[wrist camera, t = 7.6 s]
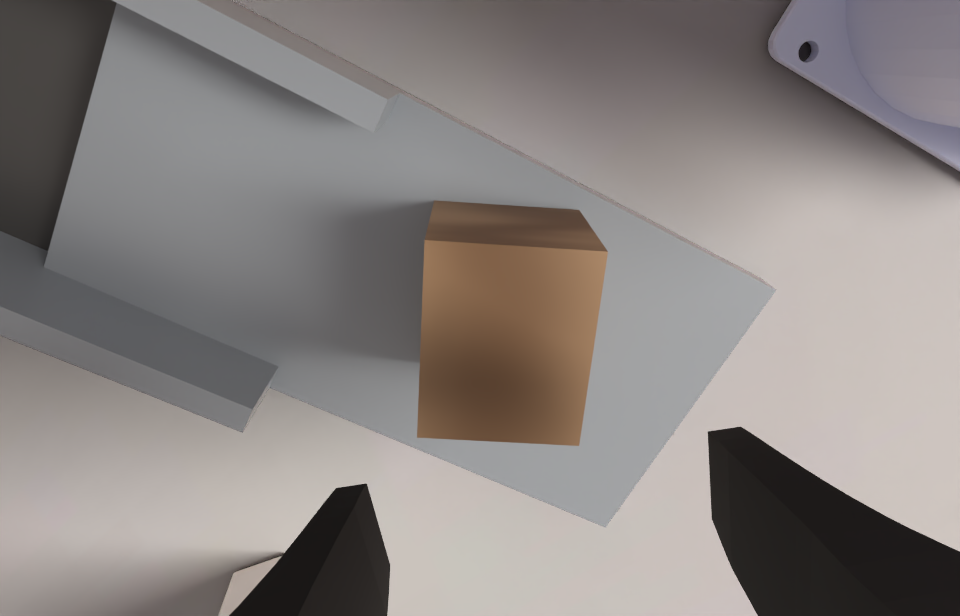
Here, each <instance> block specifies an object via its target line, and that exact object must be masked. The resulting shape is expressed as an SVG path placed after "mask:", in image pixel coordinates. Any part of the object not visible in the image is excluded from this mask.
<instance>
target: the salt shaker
mask: <svg viewBox="0 0 960 616" xmlns="http://www.w3.org/2000/svg"><path fill="white" fill-rule="evenodd" d="M281 557H282V556H280V557H277V558H274V559H271V560H268V561H265V562H262V563H259V564H257V565H254V566H251V567H248V568H245V569H242V570H239V571H237V572H234V573H233V576H232V578H231V581H230V584H229V587H228V589H227V592H226V595H225V598H224V601H223V603H222V606H221V609H220V612H219V615H218V616H229V615H230V614H231V613H232V612H233V611H234V610H235V609H236V608H237V607H238V606H239V605H240V603H241V602H242V601H243V600H244V599H245V598H246V597H247V596H248V594H249V593H250V592H251V591H252V590H253V589H254V588H255V587H256V585H257V584H258V583H259V582H260V581H261V580H262V579H263V578H264V576H265V575H266V574H267V573H268V572H269V571H270V570H271V569H272V568H273V566H274V565H275V564H276V563H277V562H278V560H279V559H280V558H281Z"/></svg>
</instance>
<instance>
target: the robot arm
mask: <svg viewBox="0 0 960 616" xmlns="http://www.w3.org/2000/svg"><path fill="white" fill-rule="evenodd" d="M804 42H808V43H809V44H810V45H811V54H810V56H809V58H808V59H807V60H805V61H803V62H802V61H801V60H800V58H799V55H798V51H799V49H800V46H801V45H802V44H803V43H804ZM768 50H769V53H770V56H771V57H772V58H773V59H774V60H775V61H777V62H779V63H780V64H782V65H784V66H785V67H787V68H789V69H790V70H792V71H794V72H795V73H797V74H799V75H800V76H802V77H804V78H805V79H807V80H809V81H810V82H812V83H814V84H815V85H817V86H819V87H820V88H822V89H824V90H825V91H827V92H829V93H830V94H832V95H834V96H835V97H837V98H838V99H840V100H842V101H843V102H845V103H847V104H848V105H850V106H852V107H853V108H855V109H857V110H858V111H860V112H862V113H863V114H865V115H867V116H868V117H870V118H872V119H873V120H875V121H877V122H878V123H880V124H882V125H883V126H885V127H887V128H888V129H890V130H892V131H893V132H895V133H897V134H898V135H900V136H902V137H903V138H905V139H907V140H908V141H910V142H912V143H913V144H915V145H917V146H918V147H920V148H921V149H923V150H925V151H926V152H928V153H930V154H931V155H933V156H935V157H936V158H938V159H940V160H941V161H943V162H945V163H946V164H948V165H950V166H951V167H953V168H955V169H956V170H958V171H960V0H792V1H791V3H790V4H789V6H788V7H787V9H786V11H785V12H784V14H783V15H782V17H781V19H780V20H779V22H778V23H777V25H776V27H775V28H774V30H773V32H772V33H771V36H770V38H769V40H768ZM708 444H709V465H710V487H711V509H712V520H713V523H714V525H715V528H716V530H717V533H718V535H719V538H720V540H721V543H722V545H723V548H724V550H725V553H726V555H727V557H728V560H729V562H730V565H731V567H732V569H733V571H734V573H735V575H736V577H737V578H738V580H739V582H740V584H741V586H742V588H743V589H744V591H745V593H746V595H747V597H748V598H749V600H750V602H751V604H752V606H753V608H754V609H755V611H756V613H757V615H758V616H960V552H959V551H957V550H955V549H952V548H950V547H948V546H946V545H944V544H942V543H940V542H937V541H935V540H933V539H931V538H929V537H927V536H925V535H923V534H920V533H918V532H916V531H914V530H912V529H910V528H908V527H906V526H904V525H902V524H900V523H898V522H896V521H894V520H892V519H890V518H888V517H886V516H884V515H883V514H881V513H879V512H877V511H875V510H874V509H872V508H870V507H868V506H866V505H864V504H863V503H861V502H859V501H857V500H855V499H854V498H852V497H850V496H848V495H847V494H845V493H843V492H842V491H840V490H838V489H837V488H835V487H833V486H832V485H830V484H828V483H827V482H825V481H823V480H822V479H820V478H819V477H817V476H815V475H814V474H812V473H811V472H809V471H807V470H806V469H804V468H803V467H801V466H800V465H798V464H797V463H795V462H794V461H792V460H790V459H789V458H787V457H786V456H784V455H783V454H781V453H780V452H778V451H777V450H775V449H774V448H772V447H771V446H769V445H768V444H766V443H765V442H763V441H762V440H760V439H759V438H757V437H756V436H754V435H753V434H751V433H750V432H748V431H747V430H745V429H743V428H742V427H736V428H729V429H723V430H716V431H709V432H708ZM389 578H390V563H389V560H388V556H387V553H386V549H385V546H384V542H383V539H382V535H381V532H380V528H379V525H378V521H377V518H376V514H375V511H374V508H373V504H372V501H371V497H370V494H369V490H368V487H367V484H361V485H354V486H348V487H341V488H336V489H335V490H334V491H333V493H332V494H331V495H330V496H329V498H328V499H327V500H326V501H325V503H324V504H323V505H322V506H321V508H320V509H319V510H318V512H317V513H316V514H315V515H314V517H313V518H312V519H311V521H310V522H309V523H308V524H307V526H306V527H305V528H304V529H303V531H302V532H301V533H300V535H299V536H298V537H297V538H296V540H295V541H294V542H293V543H292V544H291V546H290V547H289V548H288V549H287V551H286V552H285V553H284V554H283V556H282V557H281V558H280V559H279V560H278V562H277V563H276V564H275V565H274V566H273V568H272V569H271V570H270V571H269V572H268V573H267V574H266V575H265V576H264V578H263V579H262V580H261V581H260V582H259V583H258V584H257V585H256V587H255V588H254V589H253V590H252V591H251V592H250V593H249V594H248V596H247V597H246V598H245V599H244V600H243V601H242V602H241V603H240V605H239V606H238V607H237V608H236V609H235V610H234V611H233V612H232V613H231V614H230V615H229V616H387V611H388V596H389Z"/></svg>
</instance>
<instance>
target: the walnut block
mask: <svg viewBox="0 0 960 616" xmlns="http://www.w3.org/2000/svg"><path fill="white" fill-rule="evenodd" d="M607 255H608V251H607V249H606V248H605V247H604V245H603V244H602V242H601V241H600V239H599V238H598V236H597V235H596V233H595V232H594V231H593V229H592V228H591V226H590V225H589V223H588V222H587V220H586V219H585V218H584V216H583V215H582V213H581V212H580V210H574V209H558V208H543V207H528V206H513V205H497V204H482V203H467V202H452V201H436V200H434V203H433V208H432V212H431V216H430V220H429V224H428V228H427V232H426V236H425V242H424V268H423V293H422V319H421V345H420V371H419V397H418V422H417V438H432V439H451V440H471V441H490V442H510V443H529V444H549V445H568V446H579V444H580V437H581V430H582V424H583V417H584V410H585V404H586V397H587V390H588V383H589V377H590V370H591V363H592V356H593V350H594V343H595V336H596V329H597V323H598V316H599V309H600V303H601V296H602V289H603V282H604V276H605V269H606V262H607Z"/></svg>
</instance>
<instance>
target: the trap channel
mask: <svg viewBox="0 0 960 616" xmlns="http://www.w3.org/2000/svg"><path fill="white" fill-rule="evenodd" d="M434 200H436V201H452V202H467V203H482V204H497V205H513V206H528V207H543V208H558V209H574V210H580V212H581V213H582V215H583V216H584V218H585V219H586V220H587V222H588V223H589V225H590V226H591V228H592V229H593V231H594V232H595V233H596V235H597V236H598V238H599V239H600V241H601V242H602V244H603V245H604V247H605V248H606V249H607V251H608V255H607V262H606V269H605V276H604V282H603V289H602V296H601V303H600V309H599V316H598V323H597V329H596V336H595V343H594V350H593V356H592V363H591V370H590V377H589V383H588V390H587V397H586V404H585V410H584V417H583V424H582V430H581V437H580V444H579V446H568V445H549V444H529V443H510V442H490V441H471V440H451V439H432V438H417V422H418V397H419V371H420V345H421V319H422V293H423V268H424V242H425V236H426V232H427V228H428V224H429V220H430V216H431V212H432V208H433V203H434ZM775 291H776V289H774V288H773V287H772V286H770V285H769V284H768V283H767V282H765V281H764V280H763V279H761V278H759V277H757V276H755V275H754V274H752V273H750V272H748V271H746V270H744V269H742V268H740V267H738V266H736V265H735V264H733V263H731V262H729V261H727V260H725V259H723V258H721V257H719V256H717V255H715V254H714V253H712V252H710V251H708V250H706V249H704V248H702V247H700V246H698V245H696V244H694V243H693V242H691V241H689V240H687V239H685V238H683V237H681V236H679V235H677V234H675V233H674V232H672V231H670V230H668V229H666V228H664V227H662V226H660V225H658V224H656V223H654V222H653V221H651V220H649V219H647V218H645V217H643V216H641V215H639V214H637V213H635V212H633V211H632V210H630V209H628V208H626V207H624V206H622V205H620V204H618V203H616V202H614V201H612V200H611V199H609V198H607V197H605V196H603V195H601V194H599V193H597V192H595V191H593V190H592V189H590V188H588V187H586V186H584V185H582V184H580V183H578V182H576V181H574V180H572V179H571V178H569V177H567V176H565V175H563V174H561V173H559V172H557V171H555V170H553V169H551V168H550V167H548V166H546V165H544V164H542V163H540V162H538V161H536V160H534V159H532V158H531V157H529V156H527V155H525V154H523V153H521V152H519V151H517V150H515V149H513V148H511V147H510V146H508V145H506V144H504V143H502V142H500V141H498V140H496V139H494V138H492V137H490V136H489V135H487V134H485V133H483V132H481V131H479V130H477V129H475V128H473V127H471V126H470V125H468V124H466V123H464V122H462V121H460V120H458V119H456V118H454V117H452V116H450V115H449V114H447V113H445V112H443V111H441V110H439V109H437V108H435V107H433V106H431V105H429V104H428V103H426V102H424V101H422V100H420V99H418V98H416V97H414V96H412V95H410V94H408V93H407V92H405V91H403V90H401V89H399V88H397V87H395V86H393V85H391V84H389V83H388V82H386V81H384V80H382V79H380V78H378V77H376V76H374V75H372V74H370V73H368V72H367V71H365V70H363V69H361V68H359V67H357V66H355V65H353V64H351V63H349V62H347V61H346V60H344V59H342V58H340V57H338V56H336V55H334V54H332V53H330V52H328V51H327V50H325V49H323V48H321V47H319V46H317V45H315V44H313V43H311V42H309V41H307V40H306V39H304V38H302V37H300V36H298V35H296V34H294V33H292V32H290V31H288V30H286V29H285V28H283V27H281V26H279V25H277V24H275V23H273V22H271V21H269V20H267V19H266V18H264V17H262V16H260V15H258V14H256V13H254V12H252V11H250V10H248V9H246V8H245V7H243V6H241V5H239V4H237V3H235V2H233V1H231V0H0V336H3V337H5V338H8V339H10V340H13V341H15V342H18V343H20V344H22V345H25V346H27V347H30V348H32V349H35V350H37V351H40V352H42V353H45V354H47V355H50V356H52V357H55V358H57V359H60V360H62V361H65V362H67V363H70V364H72V365H75V366H77V367H80V368H82V369H85V370H87V371H90V372H92V373H95V374H97V375H100V376H102V377H105V378H107V379H110V380H112V381H115V382H117V383H120V384H122V385H125V386H127V387H130V388H132V389H135V390H137V391H140V392H142V393H145V394H147V395H150V396H152V397H155V398H157V399H160V400H162V401H165V402H167V403H170V404H172V405H175V406H177V407H180V408H182V409H185V410H187V411H190V412H192V413H195V414H197V415H200V416H202V417H205V418H207V419H210V420H212V421H215V422H217V423H220V424H222V425H225V426H227V427H230V428H232V429H235V430H237V431H240V432H242V433H243V431H244V429H245V428H246V426H247V424H248V423H249V421H250V419H251V418H252V416H253V414H254V413H255V411H256V409H257V408H258V406H259V404H260V403H261V401H262V399H263V398H264V396H265V394H266V393H267V391H268V389H269V388H272V389H274V390H276V391H279V392H281V393H284V394H286V395H288V396H291V397H293V398H296V399H298V400H300V401H303V402H305V403H308V404H310V405H312V406H315V407H317V408H320V409H322V410H324V411H327V412H329V413H332V414H334V415H336V416H339V417H341V418H344V419H346V420H348V421H351V422H353V423H356V424H358V425H360V426H363V427H365V428H368V429H370V430H372V431H375V432H377V433H380V434H382V435H384V436H387V437H389V438H392V439H394V440H396V441H399V442H401V443H404V444H406V445H408V446H411V447H413V448H416V449H418V450H420V451H423V452H425V453H428V454H430V455H432V456H435V457H437V458H440V459H442V460H444V461H447V462H449V463H452V464H454V465H456V466H459V467H461V468H464V469H466V470H468V471H471V472H473V473H476V474H478V475H480V476H483V477H485V478H488V479H490V480H492V481H495V482H497V483H500V484H502V485H504V486H507V487H509V488H512V489H514V490H516V491H519V492H521V493H524V494H526V495H528V496H531V497H533V498H536V499H538V500H540V501H543V502H545V503H548V504H550V505H552V506H555V507H557V508H560V509H562V510H564V511H567V512H569V513H572V514H574V515H576V516H579V517H581V518H584V519H586V520H588V521H591V522H593V523H596V524H598V525H600V526H603V527H606V526H607V525H608V523H609V522H610V521H611V519H612V518H613V516H614V515H615V514H616V512H617V511H618V509H619V508H620V507H621V505H622V504H623V502H624V501H625V500H626V498H627V497H628V496H629V494H630V493H631V491H632V490H633V489H634V487H635V486H636V484H637V483H638V482H639V480H640V479H641V477H642V476H643V475H644V473H645V472H646V470H647V469H648V468H649V466H650V465H651V464H652V462H653V461H654V459H655V458H656V457H657V455H658V454H659V452H660V451H661V450H662V448H663V447H664V445H665V444H666V443H667V441H668V440H669V439H670V437H671V436H672V434H673V433H674V432H675V430H676V429H677V427H678V426H679V425H680V423H681V422H682V420H683V419H684V418H685V416H686V415H687V413H688V412H689V411H690V409H691V408H692V407H693V405H694V404H695V402H696V401H697V400H698V398H699V397H700V395H701V394H702V393H703V391H704V390H705V388H706V387H707V386H708V384H709V383H710V382H711V380H712V379H713V377H714V376H715V375H716V373H717V372H718V370H719V369H720V368H721V366H722V365H723V363H724V362H725V361H726V359H727V358H728V356H729V355H730V354H731V352H732V351H733V350H734V348H735V347H736V345H737V344H738V343H739V341H740V340H741V338H742V337H743V336H744V334H745V333H746V331H747V330H748V329H749V327H750V326H751V325H752V323H753V322H754V320H755V319H756V318H757V316H758V315H759V313H760V312H761V311H762V309H763V308H764V306H765V305H766V304H767V302H768V301H769V299H770V298H771V297H772V295H773V294H774V293H775Z"/></svg>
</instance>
